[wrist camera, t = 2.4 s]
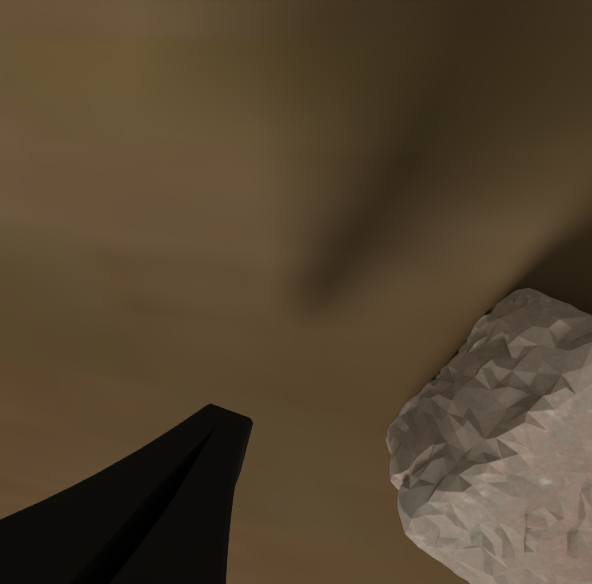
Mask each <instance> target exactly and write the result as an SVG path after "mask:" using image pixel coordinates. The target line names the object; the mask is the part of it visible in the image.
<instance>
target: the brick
mask: <svg viewBox="0 0 592 584" xmlns="http://www.w3.org/2000/svg"><path fill="white" fill-rule="evenodd" d="M386 442H387V445H388V448H389V451H390V453H391V458H390V481H391V482H392V483H393V484H394V485H395V486H396V488H397V489H398V490H399V492H398V506H397V508H398V511H399V515H400V518H401V521H402V525H403V528H404V531H405V534H406V535H407V536H408V537H409V538H410V539H411V540H412V541H413V542H414V543H415V544H416V545H417V546H418V547H419V548H421V549H423V550H424V551H425V552H427V553H428V554H429V555H431V556H432V557H434V558H435V559H437V560H439V561H440V562H442V563H443V564H444V565H446V566H447V567H448V568H449V569H451V570H452V571H453V572H454V573H456V574H457V575H458V576H460V577H461V578H463V579H465V580H467V581H468V582H469V583H470V584H592V315H591V314H588V313H585V312H583V311H580V310H578V309H577V308H575V307H574V306H572V305H571V304H568V303H564V302H562V301H559V300H556V299H554V298H551V297H549V296H547V295H545V294H543V293H541V292H540V291H537V290H534V289H530V288H525V289H519V290H515V291H514V292H512V293H511V294H510V295H508V296H507V297H505V298H504V299H503V300H501V301H500V302H499V303H497V304H496V306H495V307H494V309H493V310H492V311H491V313H490V314H488V315H483V316H482V317H481V318H480V319H479V320H478V321H477V322H476V324H475V325H474V328H473V330H472V332H471V334H470V336H468V337H467V342H466V343H465V344H464V345H463V346H461V347H460V348H459V352H458V354H457V355H456V356H455V357H453V358H452V360H451V361H450V362H449V363H448V364H447V365H446V366H444V367H443V368H442V369H441V372H440V374H439V375H437V376H436V379H435V380H433V381H431V382H428V384H427V385H426V386H425V387H424V388H423V389H422V391H421V392H420V393H419V394H417V395H416V396H414V397H413V398H411V399H410V400H409V401H408V402H407V403H406V404H405V405H404V406H403V408H402V409H401V411H400V413H399V414H398V416H397V417H396V418H395V419H394V421H393V422H392V423H391V424H390V426H389V429H388V433H387V437H386Z"/></svg>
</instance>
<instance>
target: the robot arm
mask: <svg viewBox="0 0 592 584" xmlns="http://www.w3.org/2000/svg"><path fill="white" fill-rule="evenodd" d="M252 425H253V422H252V420H251V418H249V417H246V416H243V415H240V414H238V413H235V412H232V411H230V410H227V409H224V408H221V407H219V406H216V405H213V404H209V405H206V406H205V407H203V408H202V409H201V410H199V411H198V412H196V413H195V414H193V415H192V416H190V417H189V418H187V419H186V420H185V421H183V422H182V423H180V424H179V425H177V426H175V427H174V428H172V429H171V430H169V431H168V432H166V433H165V434H163V435H161V436H160V437H158V438H157V439H155V440H153V441H152V442H150V443H149V444H147V445H145V446H144V447H142V448H141V449H139V450H137V451H136V452H134V453H132V454H130V455H129V456H127V457H125V458H123V459H122V460H120V461H118V462H116V463H114V464H113V465H111V466H109V467H107V468H106V469H104V470H102V471H100V472H98V473H97V474H95V475H93V476H91V477H89V478H87V479H85V480H83V481H81V482H79V483H77V484H75V485H74V486H72V487H70V488H68V489H66V490H63V491H61V492H59V493H57V494H55V495H53V496H51V497H49V498H47V499H45V500H43V501H41V502H39V503H36V504H34V505H32V506H30V507H27V508H25V509H23V510H21V511H18V512H16V513H14V514H12V515H10V516H7V517H5V518H3V519H1V520H0V584H226V571H227V555H228V542H229V531H230V521H231V512H232V503H233V496H234V489H235V485H236V482H237V480H238V477H239V474H240V472H241V468H242V464H243V460H244V456H245V452H246V448H247V444H248V441H249V437H250V433H251V429H252Z"/></svg>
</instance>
